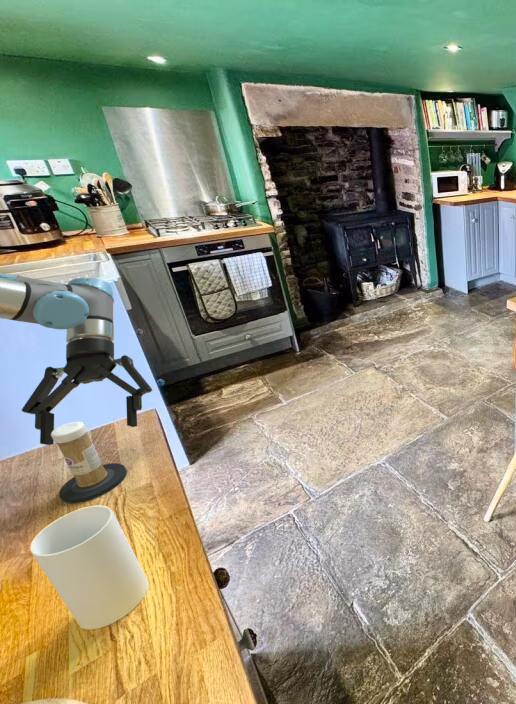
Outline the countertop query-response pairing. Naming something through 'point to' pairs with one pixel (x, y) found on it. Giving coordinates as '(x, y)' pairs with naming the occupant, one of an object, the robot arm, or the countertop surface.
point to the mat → (79, 494)
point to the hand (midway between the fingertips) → (90, 434)
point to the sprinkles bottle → (79, 453)
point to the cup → (91, 566)
